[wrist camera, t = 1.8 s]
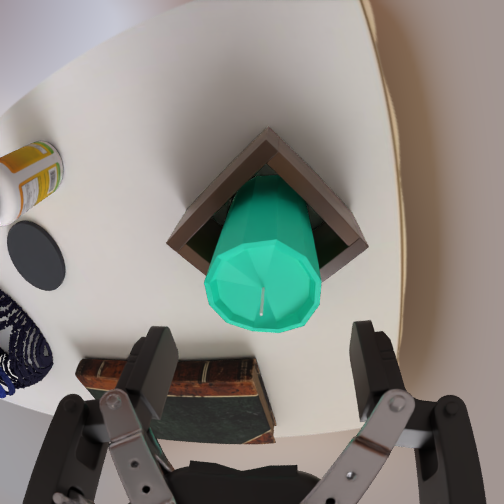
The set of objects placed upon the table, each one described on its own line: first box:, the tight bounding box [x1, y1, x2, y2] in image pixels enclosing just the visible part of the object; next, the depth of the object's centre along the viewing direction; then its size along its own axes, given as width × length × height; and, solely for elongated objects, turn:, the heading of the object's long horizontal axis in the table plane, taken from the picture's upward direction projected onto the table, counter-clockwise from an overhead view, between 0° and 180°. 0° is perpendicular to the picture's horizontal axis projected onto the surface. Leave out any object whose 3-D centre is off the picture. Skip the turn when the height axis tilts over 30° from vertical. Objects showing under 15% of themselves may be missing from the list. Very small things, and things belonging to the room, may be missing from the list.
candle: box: [204, 175, 321, 333], centre depth 19 cm, size 6×6×12 cm
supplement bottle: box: [0, 141, 63, 226], centre depth 19 cm, size 5×5×10 cm
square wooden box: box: [166, 126, 369, 283], centre depth 22 cm, size 10×10×6 cm
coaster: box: [7, 221, 65, 291], centre depth 29 cm, size 9×9×1 cm
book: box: [75, 358, 276, 444], centre depth 38 cm, size 17×4×25 cm
